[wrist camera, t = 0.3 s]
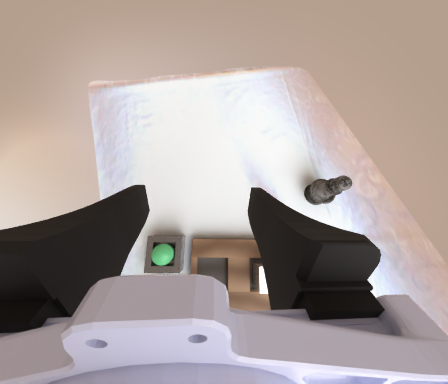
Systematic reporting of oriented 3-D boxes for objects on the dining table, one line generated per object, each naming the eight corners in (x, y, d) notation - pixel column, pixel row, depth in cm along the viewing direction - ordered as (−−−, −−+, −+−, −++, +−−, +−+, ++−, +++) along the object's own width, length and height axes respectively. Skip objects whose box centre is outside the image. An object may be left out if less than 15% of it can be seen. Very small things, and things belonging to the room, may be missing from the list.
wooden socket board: (284, 307, 36) (288, 312, 34) (190, 308, 36) (188, 312, 34) (280, 239, 40) (283, 239, 38) (193, 238, 39) (192, 238, 37)
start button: (174, 263, 36) (171, 265, 33) (155, 263, 36) (150, 265, 33) (176, 243, 37) (173, 244, 34) (157, 243, 37) (152, 244, 34)
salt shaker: (305, 180, 44) (337, 161, 32) (327, 186, 44) (368, 169, 32) (301, 202, 42) (333, 190, 31) (324, 208, 42) (365, 199, 30)
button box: (183, 269, 37) (179, 272, 34) (150, 269, 37) (143, 272, 34) (185, 236, 39) (182, 236, 36) (154, 235, 39) (148, 236, 35)
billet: (273, 284, 37) (284, 293, 31) (253, 284, 37) (260, 293, 31) (272, 261, 38) (282, 266, 32) (252, 261, 38) (259, 266, 32)
